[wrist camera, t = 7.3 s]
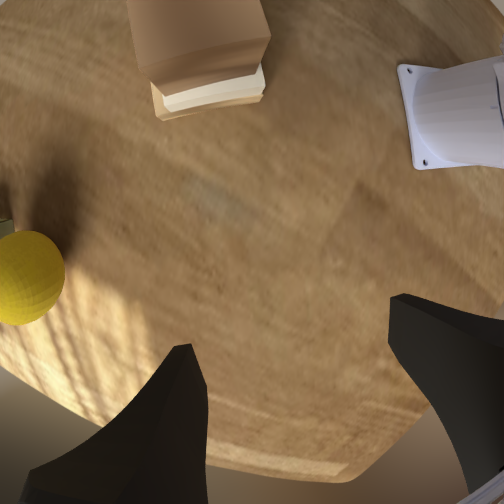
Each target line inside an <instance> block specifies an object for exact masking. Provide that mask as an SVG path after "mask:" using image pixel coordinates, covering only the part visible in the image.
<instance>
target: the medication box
mask: <svg viewBox="0 0 504 504" xmlns="http://www.w3.org/2000/svg"><path fill="white" fill-rule="evenodd" d="M12 233H14V225H13V220H12V219H0V239H2V238H3V237H5V236H7V235H9V234H12Z"/></svg>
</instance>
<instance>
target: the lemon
mask: <svg viewBox="0 0 504 504" xmlns="http://www.w3.org/2000/svg"><path fill="white" fill-rule="evenodd" d="M64 280H65V267H64V261H63V258H62V256H61V253H60V251H59V250H58V248H57V246H56V245H55V244H54V243H53V242H52V240H51V239H49V238H48V237H46V236H45V235H43V234H41V233H38V232H36V231H18V232H14V233H12V234H9V235H7V236H5V237H3V238H2V239H0V321H1V322H4V323H6V324H9V325H24V324H27V323H30V322H33V321H35V320H37V319H38V318H40V317H41V316H43V315H44V314H45V313H46V312H47V311H49V310H50V309H51V308H52V307H53V305H54V304H55V302H56V301H57V299H58V297H59V296H60V294H61V291H62V288H63V284H64Z"/></svg>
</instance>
